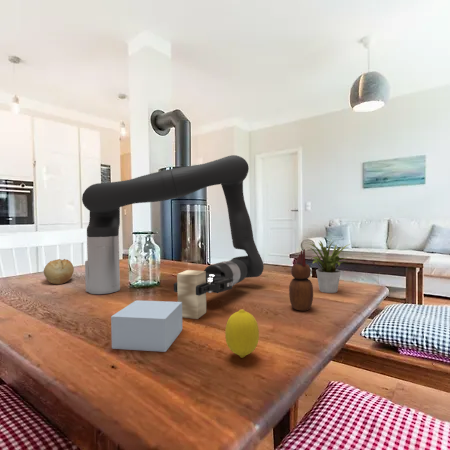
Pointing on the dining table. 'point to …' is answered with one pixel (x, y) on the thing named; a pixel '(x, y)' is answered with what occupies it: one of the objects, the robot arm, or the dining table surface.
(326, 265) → the house plant
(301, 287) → the wooden figurine
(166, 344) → the slate block
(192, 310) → the birch block
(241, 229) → the robot arm
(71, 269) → the bread roll
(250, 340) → the lemon
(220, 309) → the dining table surface
